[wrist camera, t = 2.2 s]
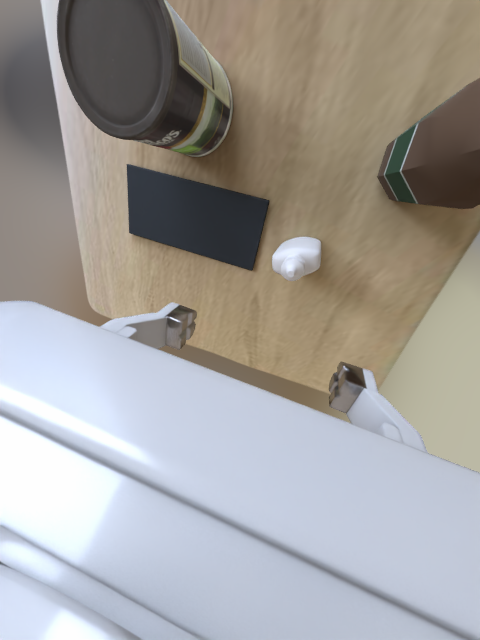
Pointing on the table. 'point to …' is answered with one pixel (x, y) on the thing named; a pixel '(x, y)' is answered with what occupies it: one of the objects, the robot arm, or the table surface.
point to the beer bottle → (438, 156)
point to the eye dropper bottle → (297, 257)
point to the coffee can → (143, 74)
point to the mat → (195, 216)
